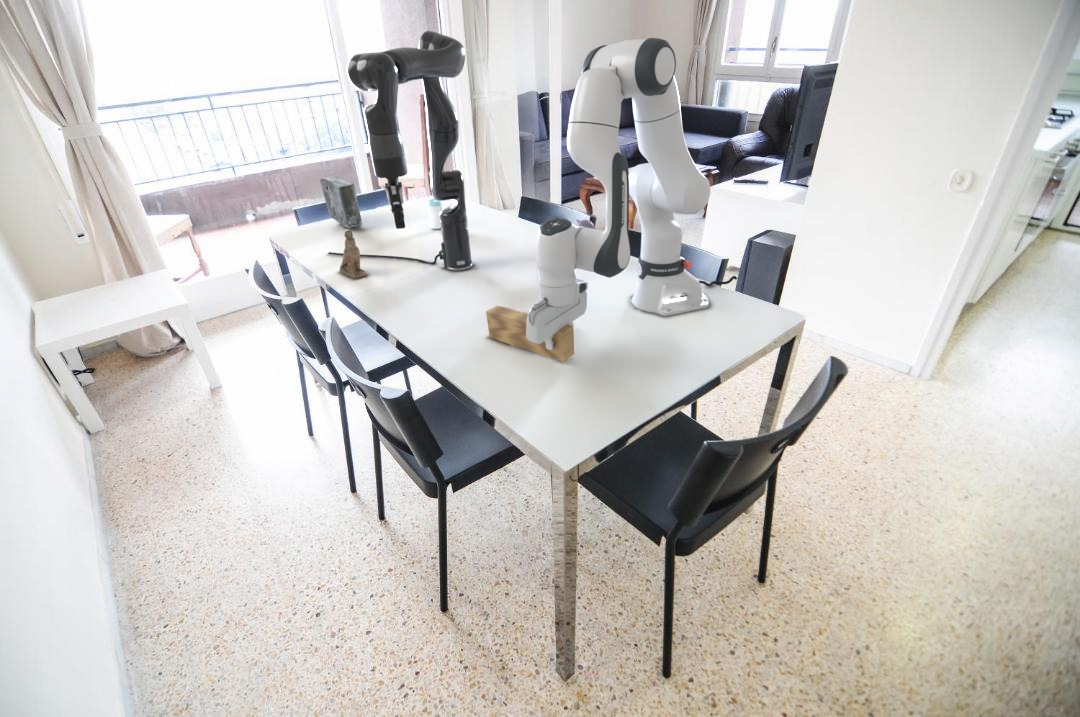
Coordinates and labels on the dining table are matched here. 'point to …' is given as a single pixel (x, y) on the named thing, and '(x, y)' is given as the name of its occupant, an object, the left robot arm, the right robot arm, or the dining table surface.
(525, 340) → the bar
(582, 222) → the cat figurine
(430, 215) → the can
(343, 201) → the concrete block
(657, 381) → the dining table surface
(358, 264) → the brown carved statuette
